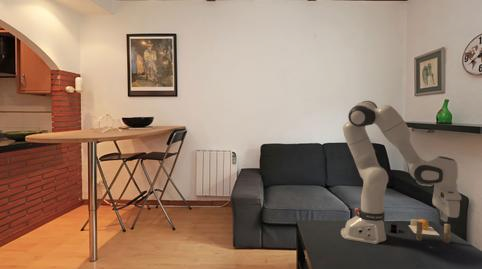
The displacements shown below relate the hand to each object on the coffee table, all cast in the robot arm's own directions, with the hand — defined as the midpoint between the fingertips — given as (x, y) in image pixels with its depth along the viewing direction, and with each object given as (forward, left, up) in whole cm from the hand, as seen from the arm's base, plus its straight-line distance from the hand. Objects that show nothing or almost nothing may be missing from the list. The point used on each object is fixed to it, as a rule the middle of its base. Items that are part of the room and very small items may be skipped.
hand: (443, 220), depth 138 cm
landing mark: (0, +26, -15) cm, 30 cm away
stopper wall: (0, +34, -15) cm, 37 cm away
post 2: (+6, +12, -15) cm, 21 cm away
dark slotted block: (-16, +22, -16) cm, 32 cm away
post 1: (-6, +12, -15) cm, 20 cm away
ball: (+1, +29, -12) cm, 31 cm away
